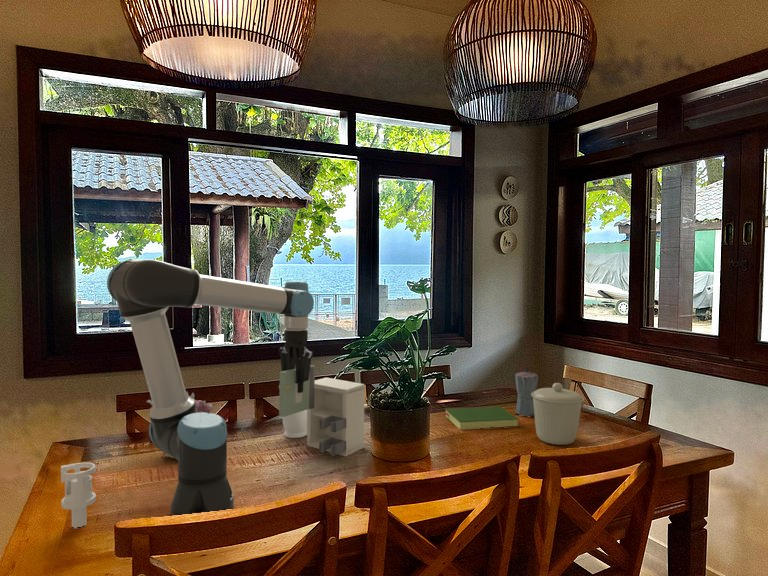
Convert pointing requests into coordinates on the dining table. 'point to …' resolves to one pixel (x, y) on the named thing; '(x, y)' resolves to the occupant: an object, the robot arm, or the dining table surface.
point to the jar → (295, 425)
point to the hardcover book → (480, 417)
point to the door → (287, 393)
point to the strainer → (78, 491)
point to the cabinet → (336, 417)
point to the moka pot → (525, 392)
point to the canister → (557, 414)
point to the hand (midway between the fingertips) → (294, 401)
